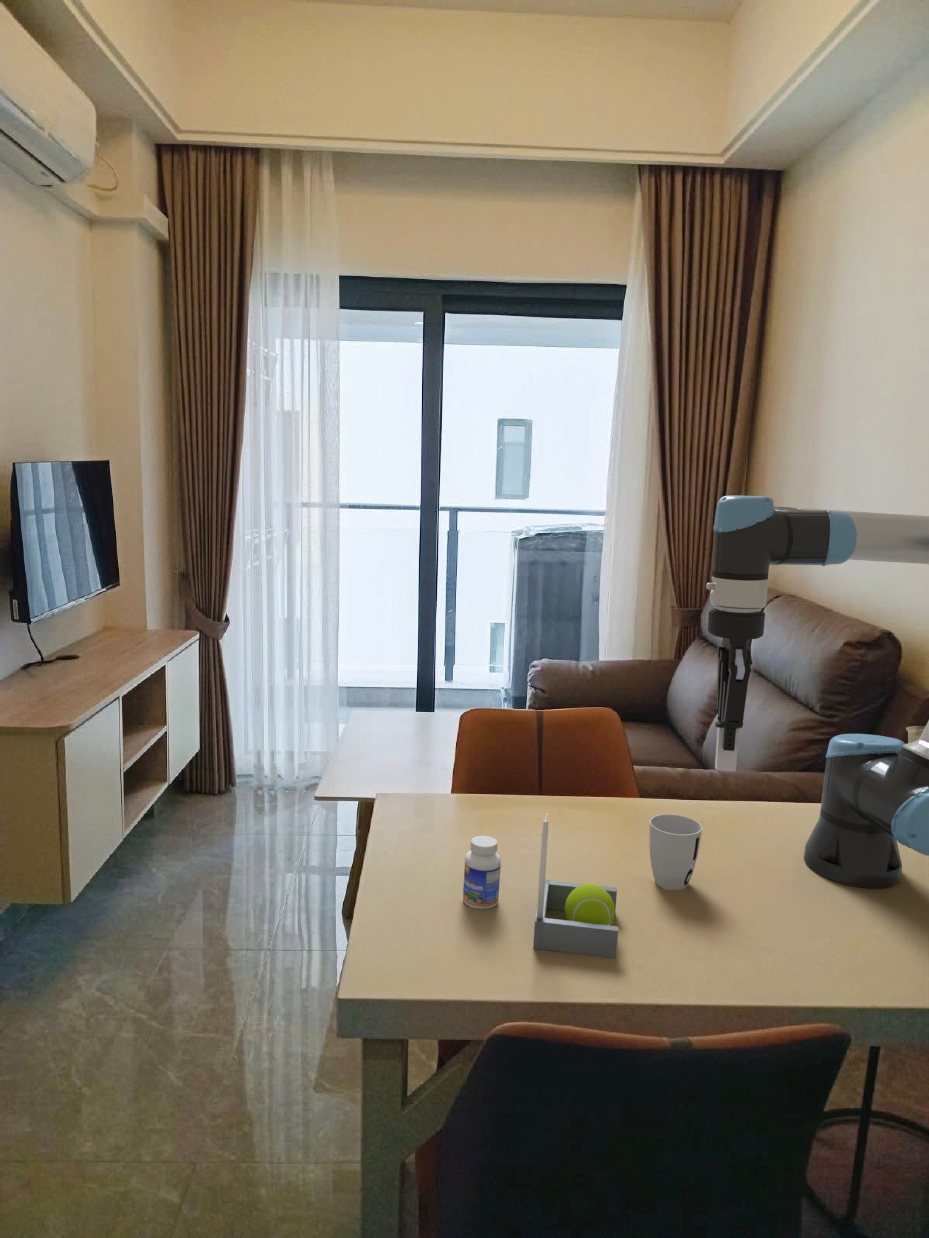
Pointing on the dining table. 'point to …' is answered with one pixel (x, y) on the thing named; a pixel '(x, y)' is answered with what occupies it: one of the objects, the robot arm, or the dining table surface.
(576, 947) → the gray u frame
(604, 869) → the dining table surface
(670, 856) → the cup
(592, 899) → the tennis ball
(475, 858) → the pill bottle
